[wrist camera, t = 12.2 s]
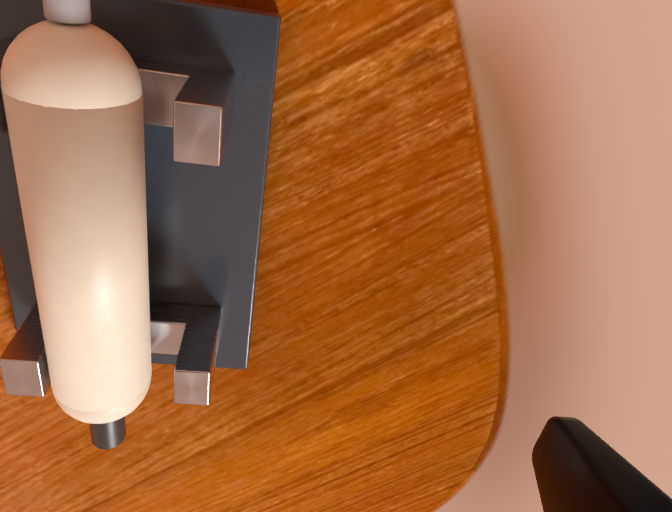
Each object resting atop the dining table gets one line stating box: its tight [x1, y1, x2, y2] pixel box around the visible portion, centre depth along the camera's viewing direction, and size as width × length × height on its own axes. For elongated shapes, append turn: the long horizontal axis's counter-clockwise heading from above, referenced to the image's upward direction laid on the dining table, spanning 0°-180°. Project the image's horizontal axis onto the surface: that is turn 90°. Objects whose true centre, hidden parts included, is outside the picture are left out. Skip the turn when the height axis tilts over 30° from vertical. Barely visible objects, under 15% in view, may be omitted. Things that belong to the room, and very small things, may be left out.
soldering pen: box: [0, 0, 152, 449], centre depth 16 cm, size 19×3×3 cm, turn 171°
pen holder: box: [0, 0, 281, 405], centre depth 17 cm, size 14×9×4 cm, turn 171°
